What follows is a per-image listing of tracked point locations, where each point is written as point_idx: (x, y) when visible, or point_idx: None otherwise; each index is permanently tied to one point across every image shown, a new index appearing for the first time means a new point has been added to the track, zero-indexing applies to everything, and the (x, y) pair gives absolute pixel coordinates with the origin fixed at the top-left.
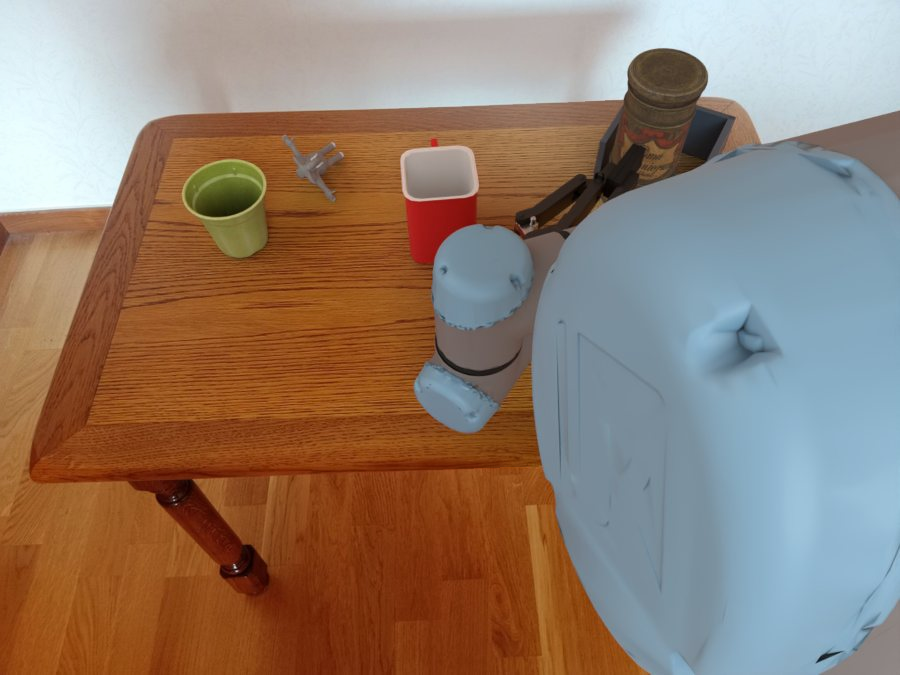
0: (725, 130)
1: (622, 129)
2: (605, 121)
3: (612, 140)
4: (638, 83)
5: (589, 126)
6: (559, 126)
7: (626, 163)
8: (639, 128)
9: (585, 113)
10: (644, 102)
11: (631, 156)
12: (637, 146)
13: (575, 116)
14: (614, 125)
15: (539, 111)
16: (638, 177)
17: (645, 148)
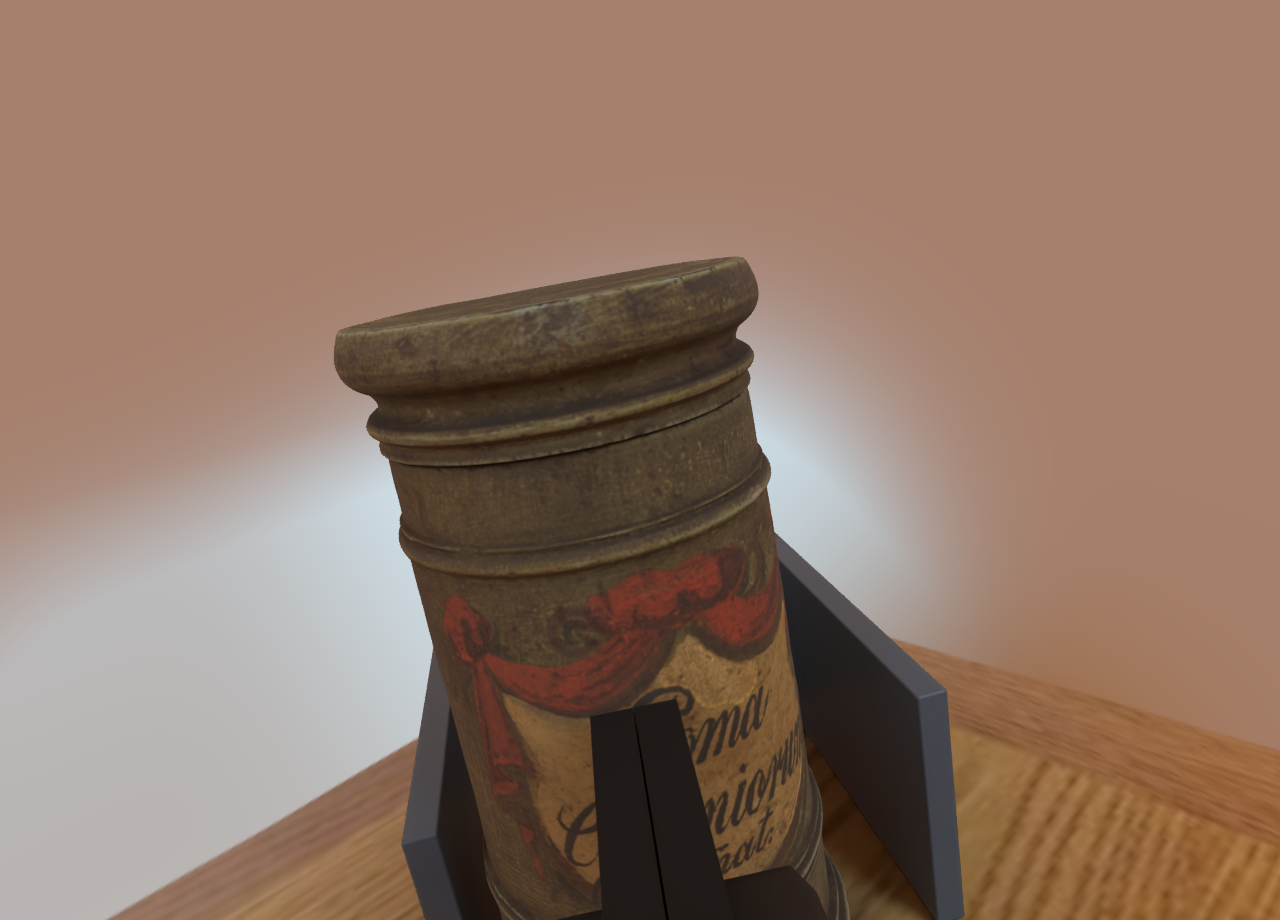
0: (794, 562)
1: (482, 695)
2: (407, 788)
3: (462, 813)
4: (426, 323)
5: (358, 835)
6: (238, 906)
7: (659, 853)
8: (577, 609)
9: (328, 805)
10: (526, 421)
11: (645, 788)
12: (627, 717)
13: (294, 834)
14: (435, 745)
15: (141, 901)
16: (814, 896)
17: (676, 700)
